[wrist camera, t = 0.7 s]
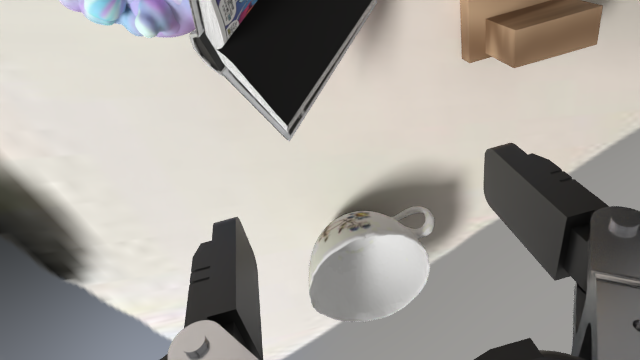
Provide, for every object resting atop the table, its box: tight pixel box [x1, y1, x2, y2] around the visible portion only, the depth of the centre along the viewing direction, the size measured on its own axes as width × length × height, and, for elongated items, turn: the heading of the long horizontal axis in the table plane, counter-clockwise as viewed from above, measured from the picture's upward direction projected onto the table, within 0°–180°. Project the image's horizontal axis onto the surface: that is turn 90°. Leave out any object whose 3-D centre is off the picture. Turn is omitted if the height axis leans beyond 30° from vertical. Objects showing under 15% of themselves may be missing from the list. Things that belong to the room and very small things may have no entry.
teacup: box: [309, 206, 434, 322], centre depth 43 cm, size 15×12×8 cm
